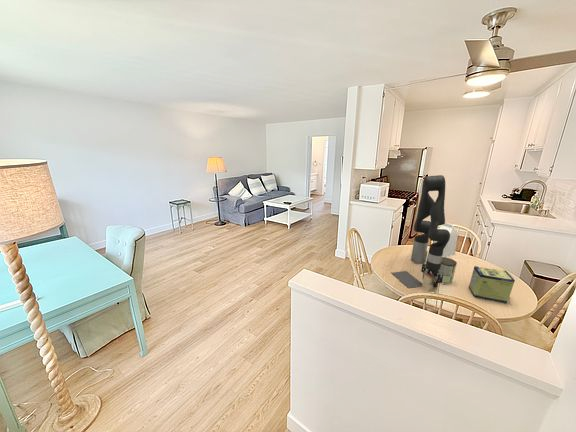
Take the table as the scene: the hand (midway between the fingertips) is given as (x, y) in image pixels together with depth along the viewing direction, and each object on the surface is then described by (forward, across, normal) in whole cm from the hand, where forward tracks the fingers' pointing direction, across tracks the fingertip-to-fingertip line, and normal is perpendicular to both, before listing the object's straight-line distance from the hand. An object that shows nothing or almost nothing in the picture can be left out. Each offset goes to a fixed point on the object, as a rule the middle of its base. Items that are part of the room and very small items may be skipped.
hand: (429, 283), depth 139 cm
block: (+3, 0, 0) cm, 3 cm away
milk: (+3, +39, -47) cm, 61 cm away
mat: (+3, +11, +7) cm, 13 cm away
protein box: (+4, -13, -28) cm, 31 cm away
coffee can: (+3, +6, -16) cm, 18 cm away
